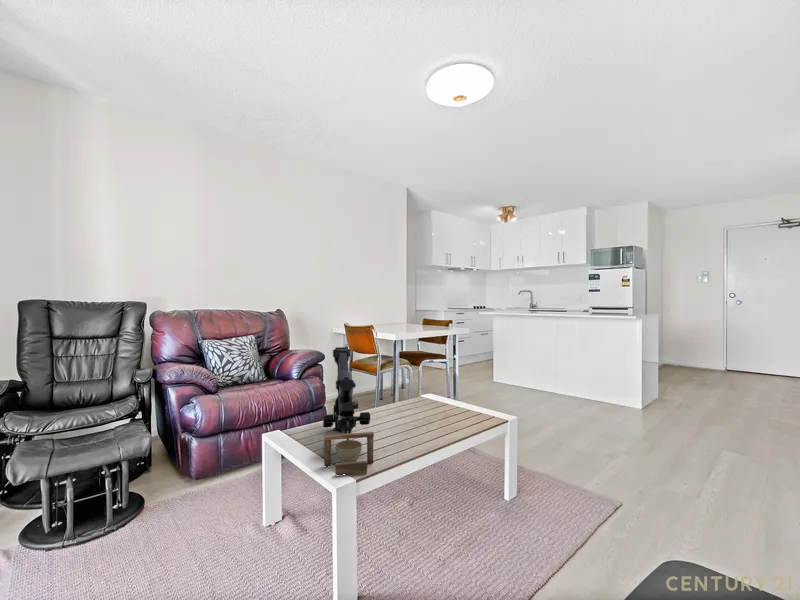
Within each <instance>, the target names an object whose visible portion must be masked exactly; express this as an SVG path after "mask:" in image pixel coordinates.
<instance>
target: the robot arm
mask: <svg viewBox="0 0 800 600" xmlns="http://www.w3.org/2000/svg"><path fill="white" fill-rule="evenodd" d="M350 357H351V349H349V348H348V346H343V347H342V346H340V347H334V349H332V358H333V361H334V363H335V364H336V366H337V377H336V380H335V389H336V390H337V397H336V399H335V400H334V401H335V402H334V404H333V410H332V411H333V412H332V414H324V415H323V416H322V417H323V418H322V419H323V420H322V424H323V425H322V426H323V428H331V427H333V425H334V427H333V428H332V430H333V431H337V432H340V433H342V434H348V433H352V431H353V429H354V428H356V426H357V422H359V425H361V426H367V425H370V423H371V422H370V421H371V413H370V412H369V411H366V412H364V411H363V412H360V413H359V415H355V410H358V409H359V400H357V399H356V400H353V393H354V389H355V388H356V387H357V385H356V382H355V381H354V380H353V377H352V374H351V373H350V372H349V360H350ZM346 440H350V438H349V439H346Z"/></svg>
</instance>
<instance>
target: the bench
mask: <svg viewBox="0 0 800 600" xmlns="http://www.w3.org/2000/svg"><path fill="white" fill-rule="evenodd" d="M347 433H348V432H347ZM360 438H361V439H362V438H366V460H357V461H356V462H345V463H341V462H336V463H335V465H334V466H335V471H334V472H335V474H336V475H343V474H345V475H346V476H354V475H357V476H358V475H364V474H366V475H367V473H368V471H367V470H368V464H373V463H374V438H375V433H374V431H367V432H366V431H364V432H363V431H362V432H351V433H348V434H344V433H337V434H336V433H335V434H325V435H323V439H324V440H323V441H324V442H323V443H324V444H323V445H324V446H323V450H324V451H323V453H324V455H323V457H324V458H323V462H324V463H323V466H326V467H325V468H329V467H328V466H330V467H331V466H332V441H333V440H347V439H349V440H350V439H360ZM336 475H335V476H336Z"/></svg>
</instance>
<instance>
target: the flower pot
mask: <svg viewBox="0 0 800 600" xmlns="http://www.w3.org/2000/svg"><path fill="white" fill-rule="evenodd" d="M334 446H335V447H334V448H335V451H336V455H337V458H338V459H339V461H340V462H339V463H345V462H356V461H359V457H360V455H361V451H362V446H363V443H362V441H359V440H356V439H355V440H354V439H349V440H347V439H344V440H341V441H338V442H337V443H336V444H335V445H334Z"/></svg>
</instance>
